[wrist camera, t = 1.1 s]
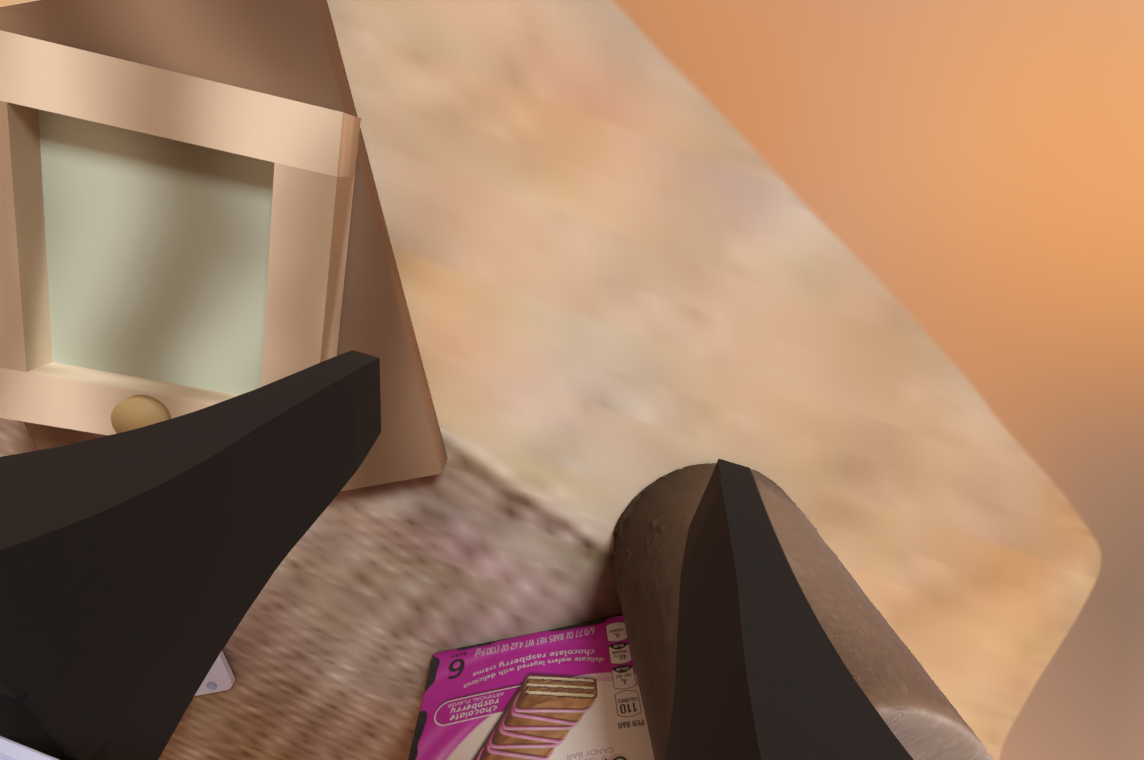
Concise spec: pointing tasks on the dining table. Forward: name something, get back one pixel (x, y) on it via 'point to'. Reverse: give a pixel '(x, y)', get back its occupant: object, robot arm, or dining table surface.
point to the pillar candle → (841, 607)
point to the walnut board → (301, 73)
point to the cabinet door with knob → (160, 238)
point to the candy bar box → (536, 699)
